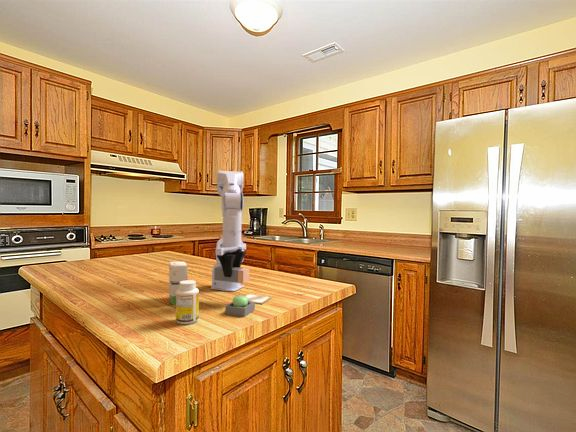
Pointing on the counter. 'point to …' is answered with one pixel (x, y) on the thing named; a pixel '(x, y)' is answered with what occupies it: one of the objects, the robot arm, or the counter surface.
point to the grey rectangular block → (237, 275)
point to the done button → (240, 301)
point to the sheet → (257, 299)
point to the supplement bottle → (187, 302)
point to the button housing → (240, 309)
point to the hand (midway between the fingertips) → (231, 275)
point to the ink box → (176, 278)
